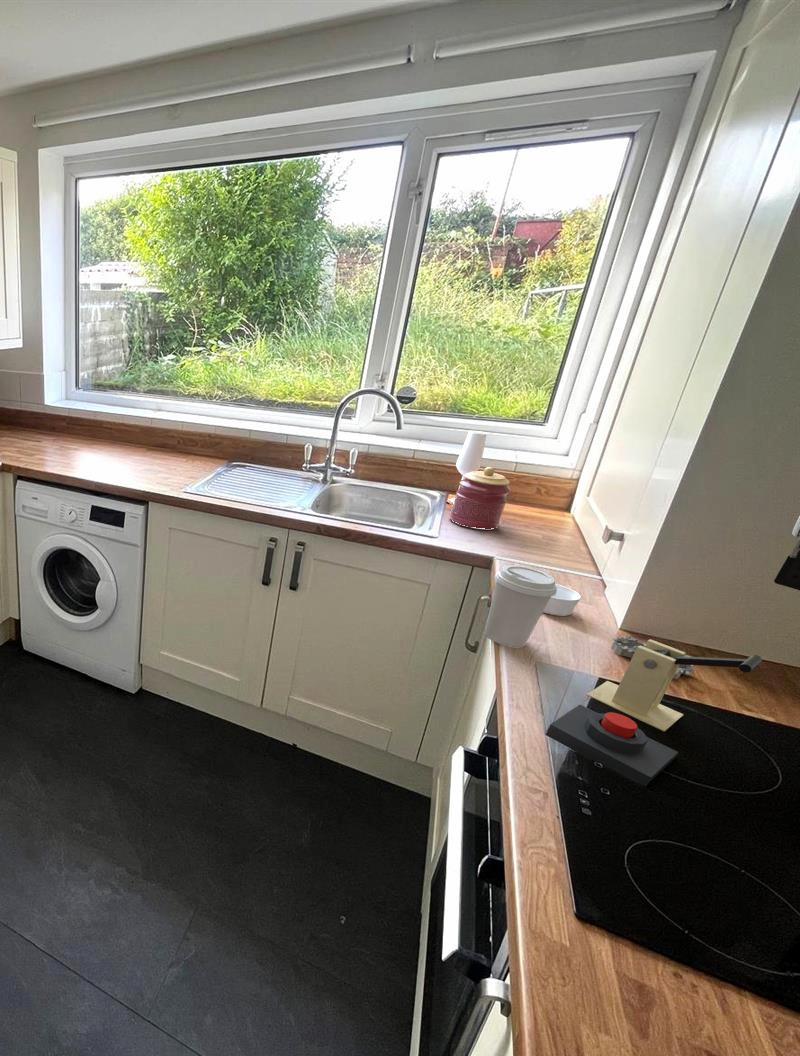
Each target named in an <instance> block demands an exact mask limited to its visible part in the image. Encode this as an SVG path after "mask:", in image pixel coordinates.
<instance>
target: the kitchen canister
mask: <svg viewBox="0 0 800 1056" xmlns="http://www.w3.org/2000/svg"><path fill="white" fill-rule="evenodd" d="M495 471H496V470H495V468H494V467H492V466H487V467H485V468H484V470H478V471H472V472H471V473H467V474H465V479H464V480H462V479H460V480H459V482H458V484H459V486H460V488H459V487H458V490H456V492H455V496H454V498H455V500H454V503H453V505H451V510H450V511H449V517H450V519H451V520H453V521H454V522H457V523H459V524H461V525H465V526H468V527H476V528H485V529H491V528H496V527H497V528H498V527H499V525H500V523H501V521H502V517H503V516H502V515H503V513H504V509H505V506H506V505H507V503H508V499H507V496H508V494H510V493H511V488H510V487H508V485H509V484H511V481H510V480H509V479H508V478H506V477H505V476H504V475H503V474H500V473H496V472H495ZM450 519H449V520H450ZM451 520H450V521H451ZM454 522H453V523H454ZM461 525H460V526H461ZM497 528H496V529H497Z"/></svg>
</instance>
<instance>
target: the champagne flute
mask: <svg viewBox="0 0 800 1056" xmlns="http://www.w3.org/2000/svg"><path fill="white" fill-rule="evenodd" d="M487 435H488V433H487V432H485V431H479V430H469V431H468V434H467V435H466V438H465V441H464V443H463V446H462V448H461V450H460V452H459V455H458V458H457V460H456V463H455V467H456V469H457V471H458V473H460V475H461V480H464V479H465V474H467V473H471V472H472V471H480V468H481V465H482V461H483V460H482V459H483V455H484V450H485V445H486V439H487ZM459 488H460V485H459V487H458V489H459ZM449 500H450V501H451V502H453V503H454V500H455V497H454V498H450V499H449Z"/></svg>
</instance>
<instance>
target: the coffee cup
mask: <svg viewBox="0 0 800 1056" xmlns="http://www.w3.org/2000/svg"><path fill="white" fill-rule="evenodd" d="M493 577H494V580H495V586H494V590H493V594H492V599H491V601H490V607H489V611H488V615H487V616H488V617H487V620H486V624H485V628H484V631H483V636H485V637H486V638H487V639H489V641H492V642H493V643H496V644H499V645H501V646H505V647H508V648H513V649H514V648H515V649H516V648H517V649H519V648H524V647H525V646H526V644H527V642H528V640H529V639H530V637H531V635H532V634H533V631H534V629H535V627H536V626H537V623H538V622H539V621H540V618H541V616H542V614H543V613H544V612H543V611H544V609H545V607H546V605H547V603H548V601H549V600H550V598H551V596H553V595H555V594H556V593H557V588H556V585H555V584H556V579H555V578H554V577H553V576H552V575H551V574H549V573H547V572H545V571H542V570H540V569H538V568H533V567H529V566H524V565H520V564H519V565H517V564H509V565H505V566H503V567H502V569H500V570H498V572H496V573H495V575H494V576H493Z"/></svg>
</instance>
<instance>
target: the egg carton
mask: <svg viewBox="0 0 800 1056" xmlns="http://www.w3.org/2000/svg"><path fill="white" fill-rule="evenodd" d="M612 640H613V642H612V645H611V647H610V649H611V650H612V651H614V652H613V653H614V654H615V655H618V656H624V657H628V658H630V659H632V657H633V655H634V653H635V651H636V649H637V647H638V646H643V647H645V645H646V643H644V642H642V641H638V639H636V638H635V637H632V636H631V635H629V636H627V635H626V636H624V637H623V636H621V637H616V638H614V637H613V638H612ZM684 657H693V656H692V655H688V654H687V653H686V654H685V656H684ZM693 667H694V665H679V667H678V669H677V671H676V673H675V675H674V677H673V679H674V680H678V679H679V678H680V677H681V675H684V676H690V675H691V673H692V671H693V669H694V668H693Z"/></svg>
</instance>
